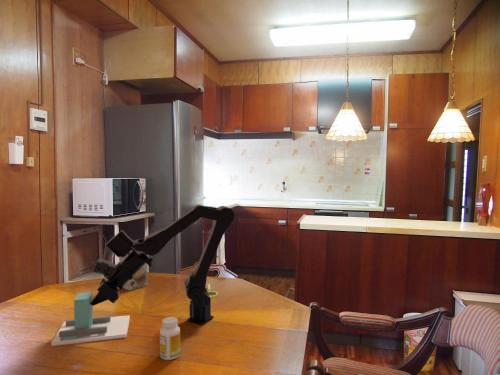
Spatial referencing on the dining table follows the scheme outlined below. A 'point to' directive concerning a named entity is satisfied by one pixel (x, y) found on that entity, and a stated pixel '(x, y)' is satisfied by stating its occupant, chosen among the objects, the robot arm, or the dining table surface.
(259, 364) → the dining table surface
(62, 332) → the white rail base plate
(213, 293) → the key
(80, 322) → the switch tab
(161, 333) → the supplement bottle
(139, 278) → the coffee box
